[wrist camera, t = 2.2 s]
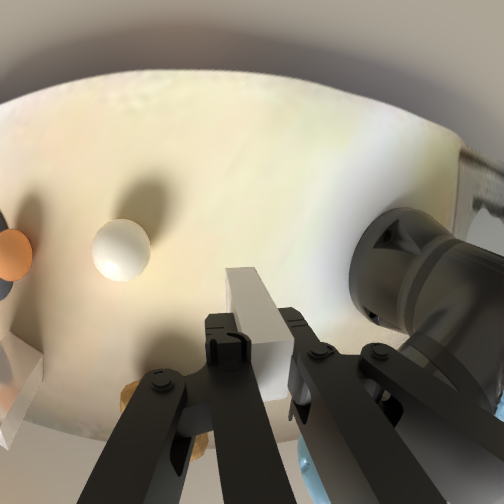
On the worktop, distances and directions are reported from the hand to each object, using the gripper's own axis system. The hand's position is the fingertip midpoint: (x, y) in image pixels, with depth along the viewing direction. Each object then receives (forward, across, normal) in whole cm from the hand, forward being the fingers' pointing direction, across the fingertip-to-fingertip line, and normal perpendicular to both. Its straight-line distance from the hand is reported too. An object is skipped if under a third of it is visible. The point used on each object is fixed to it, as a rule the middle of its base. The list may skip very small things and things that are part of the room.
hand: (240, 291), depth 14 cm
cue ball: (+10, +9, 0) cm, 14 cm away
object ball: (+10, +23, 0) cm, 25 cm away
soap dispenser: (+13, +30, +17) cm, 37 cm away
